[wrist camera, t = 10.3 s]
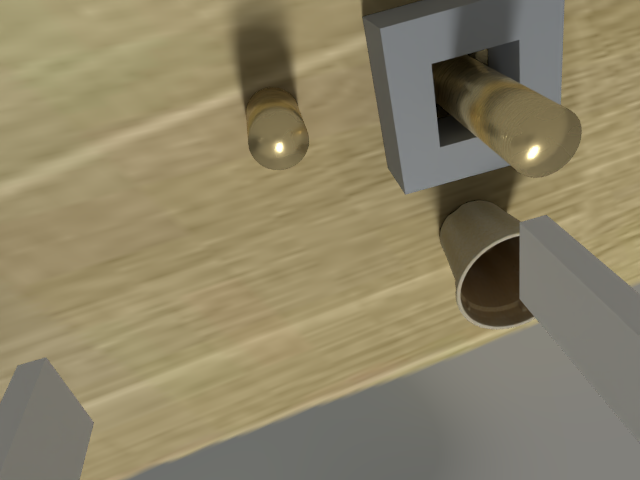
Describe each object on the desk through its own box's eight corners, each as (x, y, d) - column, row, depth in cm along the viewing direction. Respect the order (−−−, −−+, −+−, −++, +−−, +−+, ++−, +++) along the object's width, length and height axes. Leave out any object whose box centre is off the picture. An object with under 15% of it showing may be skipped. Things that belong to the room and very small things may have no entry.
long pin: (428, 110, 40) (510, 185, 28) (422, 59, 38) (509, 118, 26) (476, 96, 40) (579, 166, 28) (473, 45, 38) (583, 97, 26)
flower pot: (409, 207, 44) (444, 262, 37) (511, 165, 44) (566, 212, 36) (435, 284, 50) (470, 345, 42) (526, 247, 49) (578, 303, 42)
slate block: (388, 167, 42) (405, 194, 38) (362, 16, 36) (380, 28, 31) (526, 129, 42) (558, 151, 38) (525, -29, 36) (565, -23, 31)
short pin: (254, 144, 39) (258, 176, 34) (238, 95, 37) (240, 121, 32) (304, 131, 39) (315, 161, 34) (291, 81, 37) (300, 104, 32)
